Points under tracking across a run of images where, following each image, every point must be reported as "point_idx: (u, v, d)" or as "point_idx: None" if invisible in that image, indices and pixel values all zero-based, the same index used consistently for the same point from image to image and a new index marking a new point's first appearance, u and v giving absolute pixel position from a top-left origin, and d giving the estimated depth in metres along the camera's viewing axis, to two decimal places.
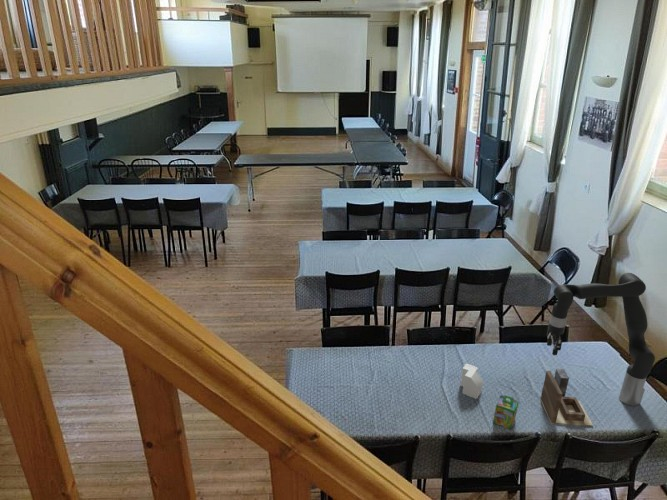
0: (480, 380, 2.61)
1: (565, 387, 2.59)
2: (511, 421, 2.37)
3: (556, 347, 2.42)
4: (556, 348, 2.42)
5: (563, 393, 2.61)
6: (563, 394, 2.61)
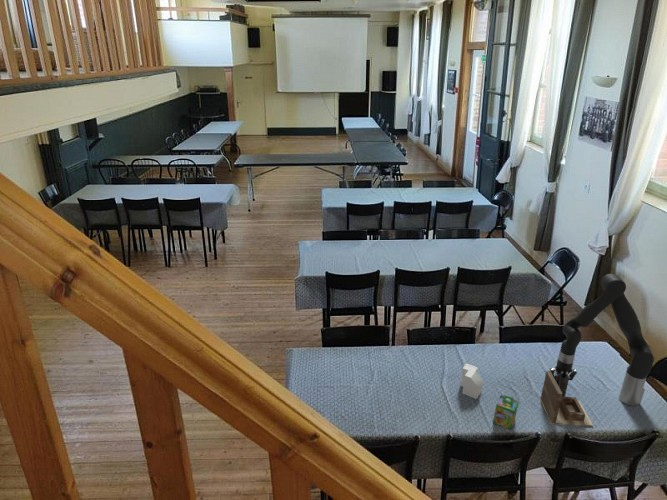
0: (480, 380, 2.61)
1: (565, 387, 2.59)
2: (511, 421, 2.37)
3: (573, 377, 2.60)
4: None
5: (563, 393, 2.61)
6: (563, 394, 2.61)
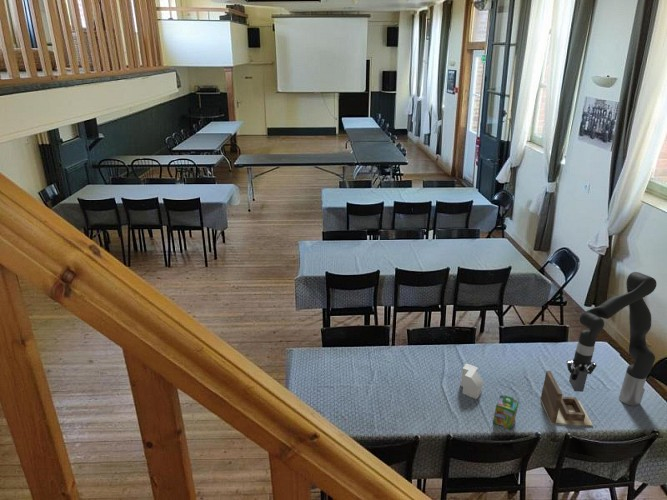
0: (480, 380, 2.61)
1: (584, 381, 2.37)
2: (511, 421, 2.37)
3: (592, 371, 2.38)
4: None
5: (581, 388, 2.39)
6: (581, 389, 2.39)
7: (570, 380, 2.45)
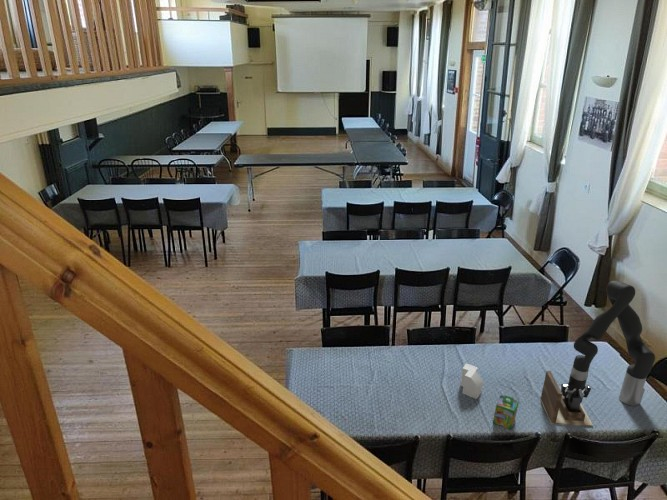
0: (480, 380, 2.61)
1: (577, 407, 2.43)
2: (511, 421, 2.37)
3: None
4: None
5: None
6: None
7: None
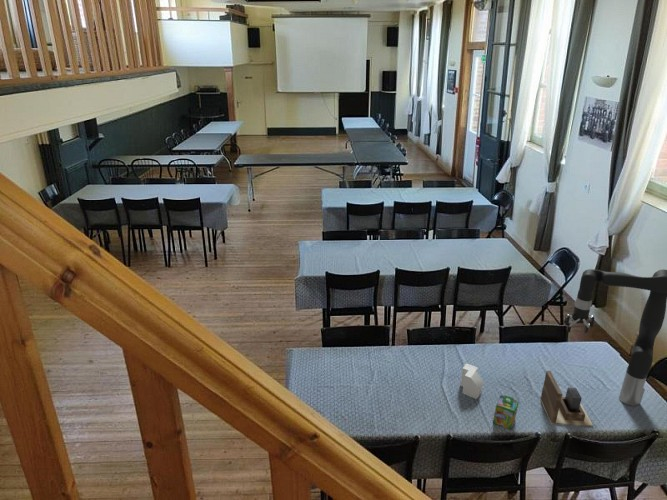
0: (480, 380, 2.61)
1: (577, 407, 2.43)
2: (511, 421, 2.37)
3: (593, 323, 2.57)
4: None
5: None
6: None
7: None
